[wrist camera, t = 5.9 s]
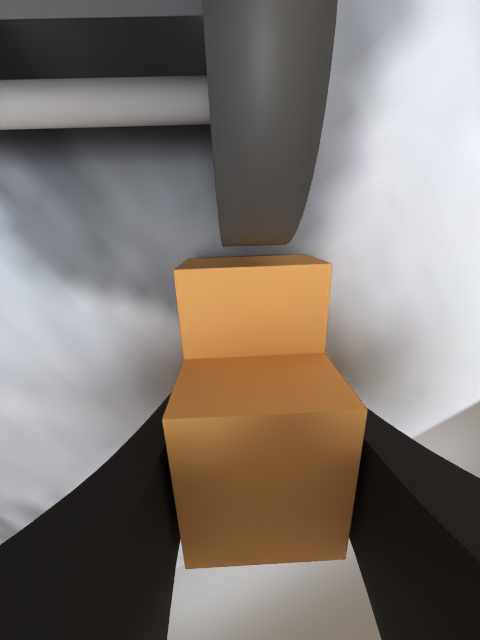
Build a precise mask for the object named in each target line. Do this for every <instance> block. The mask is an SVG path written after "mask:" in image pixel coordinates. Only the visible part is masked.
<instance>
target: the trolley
mask: <svg viewBox="0 0 480 640" xmlns="http://www.w3.org/2000/svg"><path fill="white" fill-rule="evenodd" d="M337 2H338V0H0V19H43V18H96V17H148V16H200V15H203V23H204V39H205V53H206V68H207V75H199V76H156V77H113V78H71V79H28V80H0V130H10V129H47V128H85V127H122V126H159V125H197V124H211V137H212V150H213V162H214V174H215V186H216V197H217V207H218V217H219V226H220V234H221V241H222V246H223V247H227V246H255V245H283V244H287V243H289V242H290V240H291V239H292V238H293V236H294V234H295V232H296V230H297V228H298V225H299V223H300V220H301V218H302V215H303V211H304V208H305V205H306V201H307V198H308V194H309V190H310V186H311V182H312V178H313V173H314V168H315V163H316V158H317V154H318V149H319V143H320V137H321V131H322V125H323V120H324V114H325V107H326V99H327V92H328V85H329V78H330V71H331V62H332V53H333V44H334V35H335V26H336V14H337Z"/></svg>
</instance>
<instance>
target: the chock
mask: <svg viewBox="0 0 480 640" xmlns="http://www.w3.org/2000/svg"><path fill="white" fill-rule="evenodd" d="M331 271H332V263H329V262H326V261H323V260H320V259H318V258H315V257H312V256H309V255H306V254H302V255H275V256H248V257H222V258H195V259H187V260H186V261H185V262H183V263H182V264H181V265H179V266H178V267H177V268H175V269H174V278H175V287H176V296H177V305H178V313H179V322H180V331H181V340H182V348H183V357H184V360H183V363H182V366H181V368H180V371H179V374H178V377H177V380H176V382H175V385H174V388H173V391H172V393H171V396H170V399H169V402H168V405H167V407H166V410H165V413H164V416H163V419H162V422H163V428H164V435H165V441H166V448H167V454H168V460H169V467H170V473H171V480H172V486H173V492H174V499H175V505H176V511H177V518H178V524H179V531H180V537H181V543H182V550H183V556H184V563H185V568H186V569H193V568H210V567H227V566H244V565H260V564H277V563H294V562H310V561H326V560H343V559H346V552H347V546H348V539H349V533H350V526H351V519H352V512H353V505H354V499H355V492H356V485H357V478H358V472H359V465H360V458H361V451H362V445H363V438H364V431H365V424H366V417H367V411H368V409H367V408H366V407H365V405H364V404H363V403H362V401H361V400H360V399H359V397H358V396H357V395H356V393H355V392H354V391H353V389H352V388H351V387H350V385H349V384H348V383H347V381H346V380H345V379H344V377H343V376H342V375H341V373H340V372H339V371H338V369H337V368H336V367H335V365H334V364H333V363H332V361H331V360H330V359H329V357H328V356H327V355H326V353H325V348H326V335H327V322H328V310H329V297H330V284H331Z"/></svg>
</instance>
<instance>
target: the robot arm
mask: <svg viewBox="0 0 480 640" xmlns="http://www.w3.org/2000/svg"><path fill="white" fill-rule="evenodd" d="M171 393H172V392H171ZM171 393H170V395H169V396H168V397H167V398H166V399H165V400H164V402H163V403H162V404H161V405H160V406H159V407H158V408H157V410H156V411H155V412H154V413H153V414H152V415H151V416H150V418H149V419H148V420H147V421H146V422H145V423H144V424H143V425H142V426H141V427H140V428H139V430H138V431H137V432H136V433H135V434H134V435H133V436H132V437H131V438H130V439H129V440H128V441H127V442H126V443H125V444H124V445H123V446H122V447H121V448H120V449H119V450H118V451H117V452H116V453H115V454H114V455H113V456H112V457H111V458H110V459H109V460H108V461H107V462H105V463H104V464H103V465H102V466H101V467H100V468H99V469H98V470H97V471H95V472H94V473H93V474H92V475H91V476H90V477H88V478H87V479H86V480H85V481H84V482H83V483H81V484H80V485H79V486H78V487H77V488H75V489H74V490H73V491H72V492H71V493H69V494H68V495H67V496H65V497H64V498H63V499H61V500H60V501H59V502H58V503H56V504H55V505H54V506H52V507H51V508H50V509H48V510H47V511H46V512H45V513H43V514H42V515H41V516H39V517H38V518H37V519H35V520H34V521H33V522H31V523H30V524H29V525H28V526H26V527H25V528H23V529H22V530H21V531H19V532H18V533H17V534H15V535H14V536H12V537H11V538H9V539H8V540H7V541H5V542H4V543H2V544H1V545H0V640H167V633H168V625H169V616H170V608H171V600H172V592H173V584H174V576H175V568H176V561H177V555H178V550H179V544H180V539H181V537H180V531H179V524H178V518H177V511H176V505H175V499H174V492H173V486H172V480H171V473H170V467H169V460H168V454H167V448H166V441H165V435H164V428H163V422H162V419H163V416H164V413H165V410H166V407H167V405H168V402H169V399H170V396H171ZM367 409H368V408H367ZM349 538H350V541H351V544H352V547H353V549H354V552H355V555H356V558H357V562H358V565H359V568H360V571H361V574H362V577H363V581H364V584H365V587H366V590H367V593H368V596H369V600H370V603H371V606H372V610H373V613H374V616H375V619H376V623H377V626H378V629H379V633H380V636H381V639H382V640H480V478H478V477H476V476H474V475H472V474H471V473H469V472H467V471H465V470H463V469H462V468H460V467H458V466H456V465H455V464H453V463H451V462H449V461H448V460H446V459H444V458H442V457H441V456H439V455H437V454H435V453H434V452H432V451H430V450H429V449H427V448H425V447H424V446H422V445H421V444H419V443H417V442H416V441H414V440H413V439H411V438H410V437H408V436H407V435H405V434H404V433H402V432H401V431H399V430H397V429H396V428H395V427H393V426H392V425H390V424H389V423H387V422H386V421H384V420H383V419H382V418H380V417H379V416H377V415H376V414H375V413H373V412H372V411H370V410H369V409H368V411H367V417H366V424H365V431H364V438H363V445H362V451H361V458H360V465H359V472H358V478H357V485H356V492H355V499H354V505H353V512H352V519H351V526H350V533H349Z"/></svg>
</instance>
